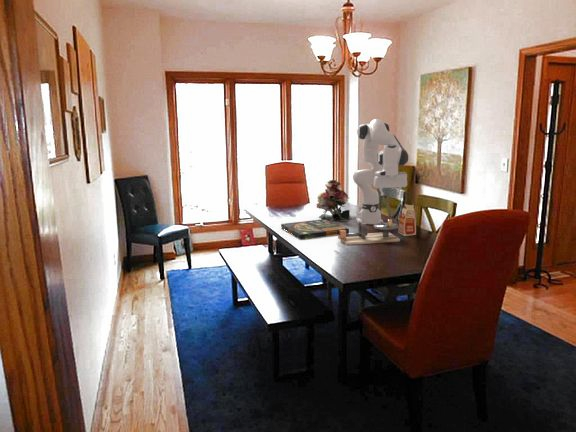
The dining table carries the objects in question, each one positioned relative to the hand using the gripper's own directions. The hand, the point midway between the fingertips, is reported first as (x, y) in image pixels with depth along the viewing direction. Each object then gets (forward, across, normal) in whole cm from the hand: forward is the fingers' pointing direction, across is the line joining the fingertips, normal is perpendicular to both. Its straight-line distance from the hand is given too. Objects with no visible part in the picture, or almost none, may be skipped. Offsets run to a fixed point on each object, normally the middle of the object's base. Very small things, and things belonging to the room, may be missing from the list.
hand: (390, 195), depth 263 cm
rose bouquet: (+26, +17, -73) cm, 80 cm away
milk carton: (+28, -17, -14) cm, 36 cm away
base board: (+28, +12, -6) cm, 31 cm away
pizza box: (+28, +40, -38) cm, 62 cm away
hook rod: (+26, +21, -6) cm, 34 cm away
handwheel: (+21, +1, -5) cm, 21 cm away
